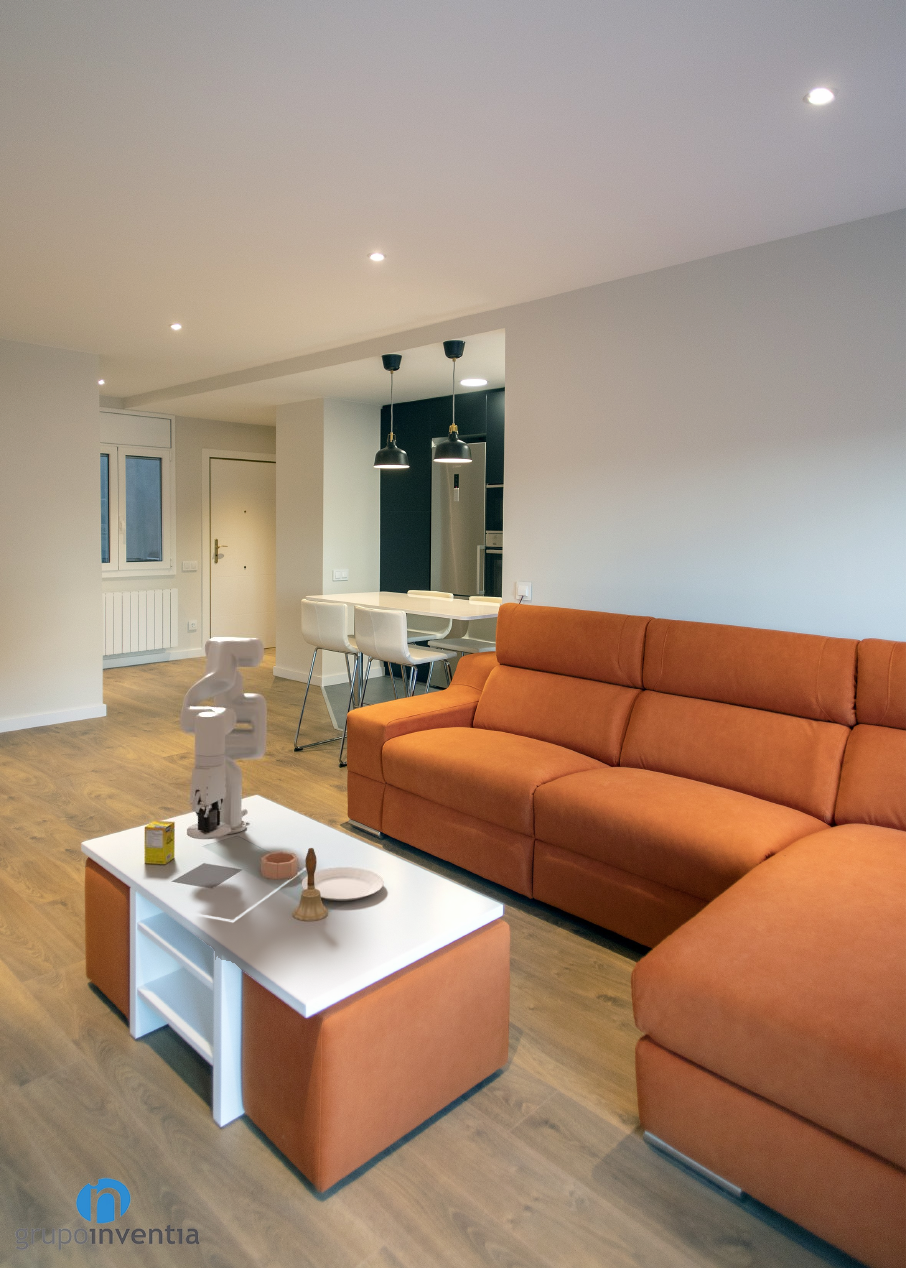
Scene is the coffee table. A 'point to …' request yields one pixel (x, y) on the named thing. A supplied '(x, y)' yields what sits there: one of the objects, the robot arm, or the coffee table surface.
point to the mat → (207, 875)
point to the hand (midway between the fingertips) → (208, 827)
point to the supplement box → (159, 842)
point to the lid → (214, 829)
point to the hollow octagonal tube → (279, 865)
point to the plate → (345, 883)
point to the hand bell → (310, 895)
